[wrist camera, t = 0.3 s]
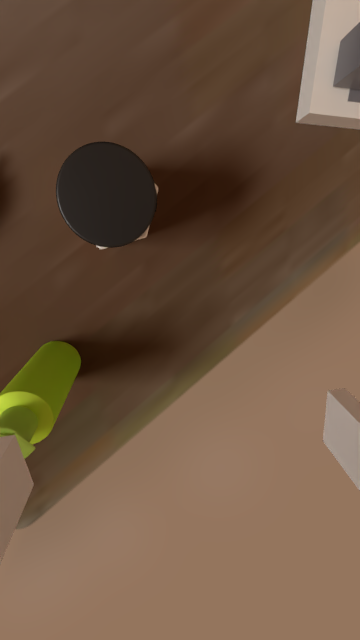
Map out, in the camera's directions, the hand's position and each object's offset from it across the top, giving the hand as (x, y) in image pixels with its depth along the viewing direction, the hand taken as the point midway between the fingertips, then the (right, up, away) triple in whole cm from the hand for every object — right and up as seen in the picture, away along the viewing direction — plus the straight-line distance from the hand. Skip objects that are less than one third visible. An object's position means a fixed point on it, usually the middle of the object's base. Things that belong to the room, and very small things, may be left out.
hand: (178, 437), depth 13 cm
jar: (-7, +19, +23) cm, 31 cm away
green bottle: (-16, 0, +28) cm, 32 cm away
